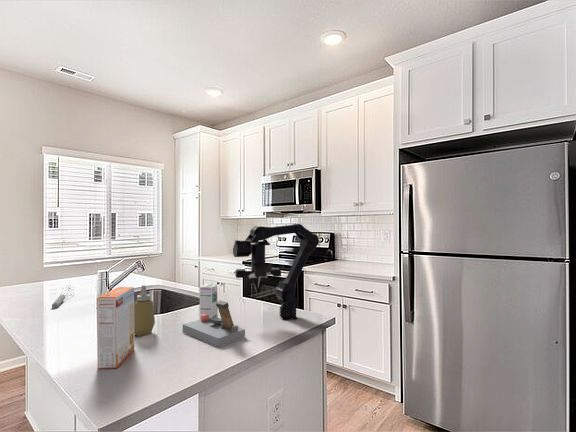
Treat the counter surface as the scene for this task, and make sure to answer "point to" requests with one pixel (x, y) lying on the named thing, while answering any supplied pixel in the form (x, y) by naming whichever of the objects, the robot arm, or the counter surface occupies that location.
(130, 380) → the counter surface
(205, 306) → the syrup box
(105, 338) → the cracker box
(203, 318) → the button
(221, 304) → the lever
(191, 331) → the panel
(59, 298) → the kitchen whisk
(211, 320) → the block
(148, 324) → the squeeze bottle
